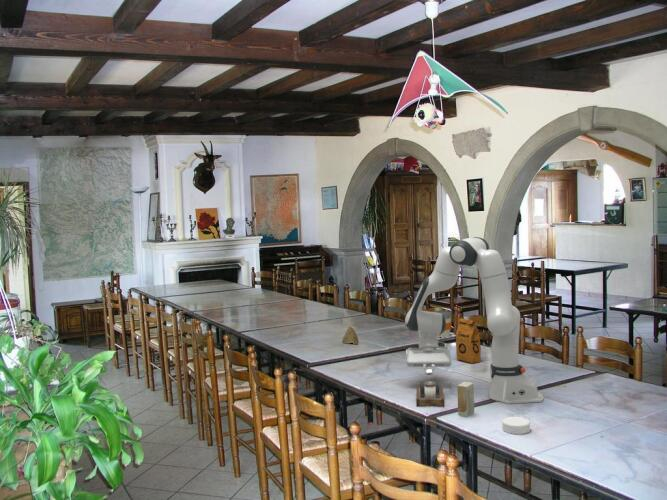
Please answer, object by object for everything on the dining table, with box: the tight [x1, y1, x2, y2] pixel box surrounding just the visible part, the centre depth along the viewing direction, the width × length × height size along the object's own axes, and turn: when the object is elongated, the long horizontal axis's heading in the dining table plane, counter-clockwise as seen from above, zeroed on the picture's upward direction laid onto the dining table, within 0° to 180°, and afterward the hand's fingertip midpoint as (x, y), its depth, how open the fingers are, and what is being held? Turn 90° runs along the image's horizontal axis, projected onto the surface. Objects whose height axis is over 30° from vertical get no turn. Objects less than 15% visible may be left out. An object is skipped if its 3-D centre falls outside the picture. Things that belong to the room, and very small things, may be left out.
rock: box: [341, 326, 359, 345], centre depth 392 cm, size 11×9×10 cm
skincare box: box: [456, 381, 475, 417], centre depth 259 cm, size 6×4×12 cm
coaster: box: [501, 416, 531, 435], centre depth 240 cm, size 10×10×4 cm
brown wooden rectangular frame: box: [415, 386, 445, 408], centre depth 279 cm, size 11×18×3 cm, turn 172°
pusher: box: [419, 380, 441, 399], centre depth 282 cm, size 8×5×7 cm, turn 82°
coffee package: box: [455, 318, 482, 364], centre depth 340 cm, size 10×12×22 cm
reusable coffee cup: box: [433, 310, 453, 338], centre depth 403 cm, size 13×13×15 cm
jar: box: [424, 380, 437, 399], centre depth 275 cm, size 5×5×8 cm
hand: (429, 374), depth 291 cm, fingers closed
